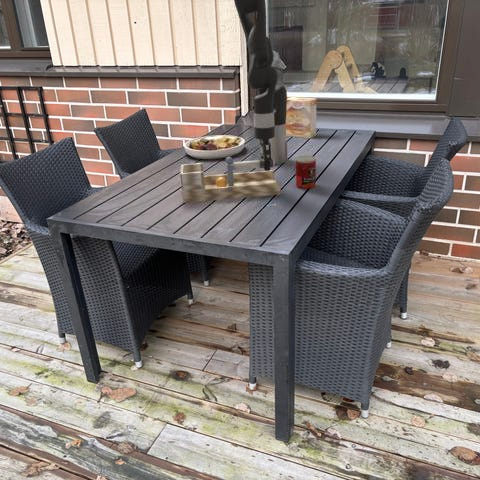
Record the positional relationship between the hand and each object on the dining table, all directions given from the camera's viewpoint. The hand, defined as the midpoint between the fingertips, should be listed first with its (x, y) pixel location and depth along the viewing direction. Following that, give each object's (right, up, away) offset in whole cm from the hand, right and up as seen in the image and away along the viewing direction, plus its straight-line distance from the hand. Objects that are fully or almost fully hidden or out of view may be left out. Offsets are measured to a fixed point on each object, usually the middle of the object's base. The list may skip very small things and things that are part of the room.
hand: (265, 167), depth 182 cm
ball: (-17, -6, +1) cm, 18 cm away
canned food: (+16, -7, +4) cm, 18 cm away
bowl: (-22, +16, +56) cm, 62 cm away
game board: (-13, -9, +3) cm, 16 cm away
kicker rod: (-6, -6, +2) cm, 8 cm away
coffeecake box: (+23, +28, +74) cm, 83 cm away
